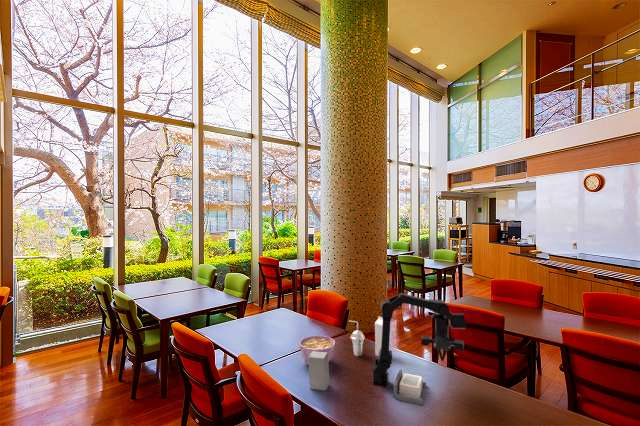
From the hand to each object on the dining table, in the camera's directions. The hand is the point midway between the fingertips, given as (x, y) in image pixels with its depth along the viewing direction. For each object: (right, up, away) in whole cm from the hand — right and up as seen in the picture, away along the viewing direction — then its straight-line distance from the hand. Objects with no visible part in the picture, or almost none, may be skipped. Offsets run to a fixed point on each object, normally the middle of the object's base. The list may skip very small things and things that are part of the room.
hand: (442, 360), depth 153 cm
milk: (-22, -13, +34) cm, 42 cm away
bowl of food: (-59, -13, +26) cm, 66 cm away
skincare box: (-58, -13, +1) cm, 60 cm away
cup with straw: (-36, -13, +36) cm, 53 cm away
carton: (-16, -13, -3) cm, 20 cm away
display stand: (-16, -12, -5) cm, 21 cm away
